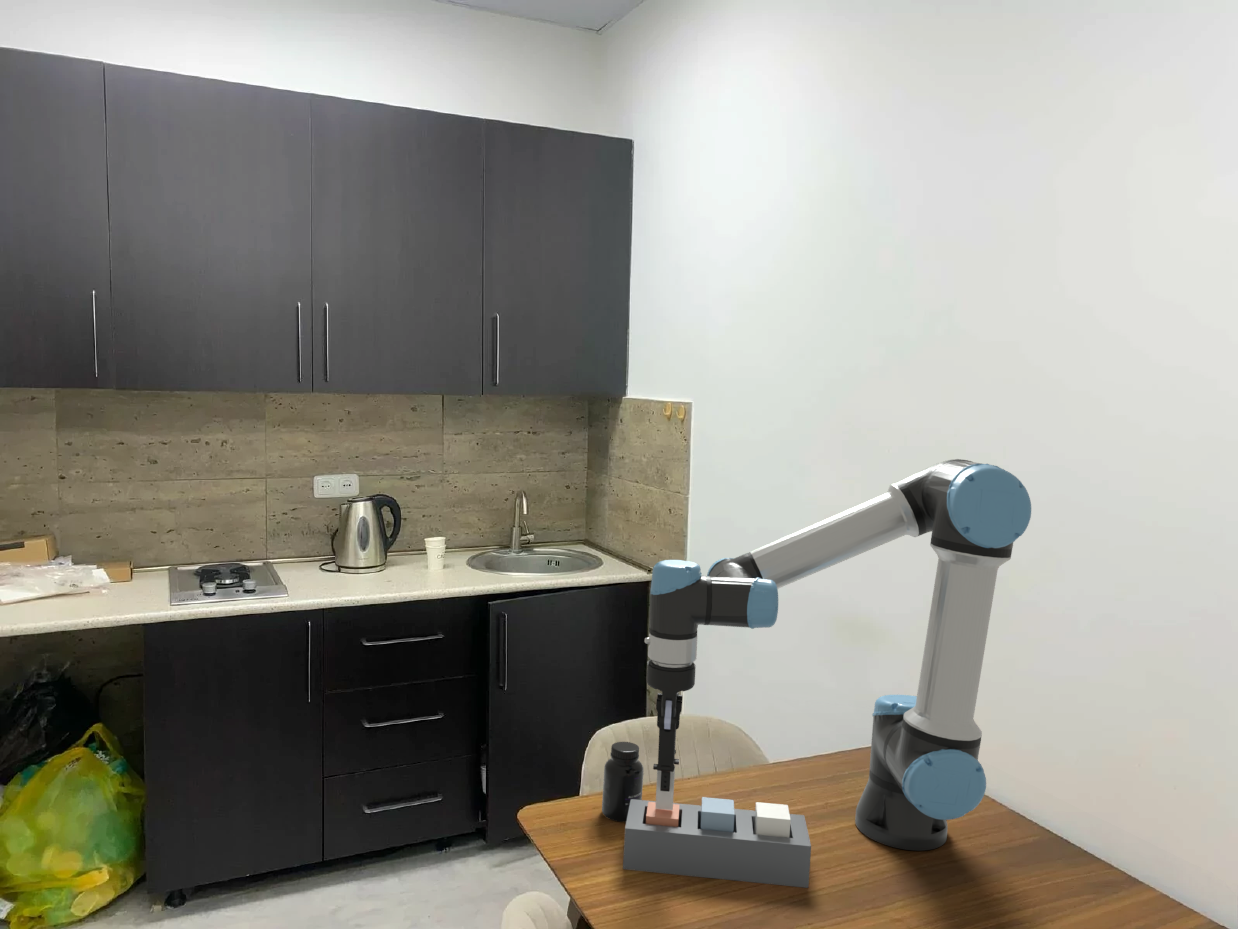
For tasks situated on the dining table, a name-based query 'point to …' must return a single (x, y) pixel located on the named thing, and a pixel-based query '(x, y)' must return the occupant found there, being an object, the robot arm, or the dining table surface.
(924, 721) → the robot arm
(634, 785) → the supplement bottle
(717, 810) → the blue key
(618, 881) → the dining table surface
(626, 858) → the console
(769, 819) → the white key
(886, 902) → the dining table surface
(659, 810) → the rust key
